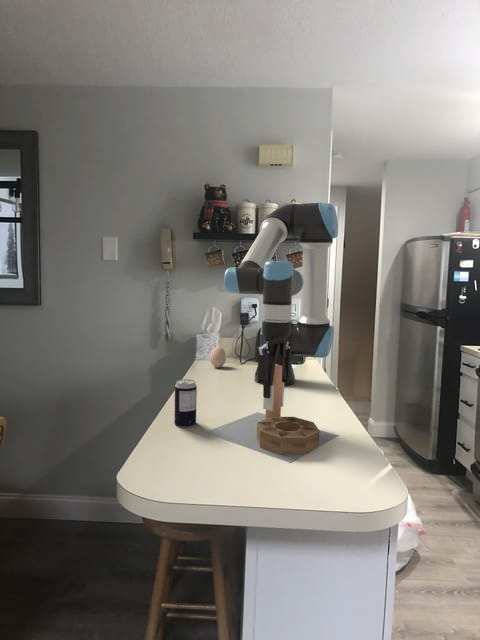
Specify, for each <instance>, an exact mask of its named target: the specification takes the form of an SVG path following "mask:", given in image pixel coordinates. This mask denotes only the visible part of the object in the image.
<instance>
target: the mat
mask: <svg viewBox="0 0 480 640" xmlns="http://www.w3.org/2000/svg"><path fill="white" fill-rule="evenodd" d="M265 418H266V413H261V412H258V411H257V412H254V413H252V414H249V415H246V416H243V417H241V418H238V419H235V420H232V421H231V422H228V423H225V424H222V425H220V426H217V427H215V428H211V429H208V430H206V431H204V433H205V434H208V435H211V436H213V437H216V438H218V439H221V440H224V441H228V442H229V443H233V444H236V445H238V446H241V447H244V448H247V449H250V450H252V451H256V452H258V453H260V454H263V455H266V456H270V457H272V458H274V459H278V460H280V461H284V462H286V463H288V464H292V463H294V462H295V461H297V460H299V459H300V458H302V457H305V456H306V455H308V454H310V453H311V452H309V453H307V454H302V455H280V454H277V453H274V452H271V451H268V450H265V449H262V448H260V447H259V444H258V441H257V422H259V421H262V420H264V419H265ZM319 430H320V433H319V447H318V448H320V447H322V446H324V445H325V444H327V443H329V442H331V441H333V440H334V439H336V438H337V437H340V434H335V433H331V432H328V431H325V430H321V429H319ZM318 448H316V449H314V450H313V451H315V450H317V449H318Z"/></svg>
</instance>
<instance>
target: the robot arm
mask: <svg viewBox="0 0 480 640" xmlns="http://www.w3.org/2000/svg"><path fill="white" fill-rule="evenodd" d="M335 207H336V206H334V205H333V204H332V203H329V202H305V203H288V204H284V205H282V206H280V207H277V208H276V209H275V210H273V211H272V212H271V213H269V214H268V215H266V217H265V218H264V219H263V221H262V223H261V224H260V226H259V233H258V235H257V236H256V238H255V240H254V242H253V243H252V244H251V246H250V248H249V250H248V251H247V252H246V254H245V256H244V258H243V259H242V261H241V263H240V264H239V265H238V267H236V266H232V267H228V268H226V270H225V272H224V277H223V285H224V288H225V290H226V292H228V293H230V294H238V295H260V296H261V295H262V319H263V320H262V322H261V327H260V334H259V336H260V338H259V339H260V340H259V341H260V342H259V343H260V345H259V346H257V347H256V353H257V366H256V370H255V373H254V381H255V382H256V383H258V384H259V385H262V386H263V389H262V391H263V392H262V393H263V394H262V396H263V397H262V398H263V402H262V403H263V406H262V407H263V409H264V410H266V409H267V410H270V411H273V404H274V386H272V382H273V375H274V369H275V364H279V365H282V391H281V408H282V407H284V398H285V386H290V385H293V384H295V383H296V382H295V381H296V380H295V379H296V376H295V375H296V374H295V371H294V368H293V364H292V356H298V357H306V358H307V357H308V358H314V359H317V358H318V359H321V358H323V359H324V358H327V357H328V356H329V354H330V353H331V349H332V346H333V341H334V335H335V326H332V325H331V321H330V318H328V317H327V315H326V314H327V310H326V309H327V287H328V286H327V285H328V259H329V258H328V257H329V247H331V246H332V245H333V241H334V240H333V239H337V238H338V235H339V225H338V224H339V223H338V222H339V221H338V215H337V211H336V208H335ZM289 238H291V239H292V238H294V239H298V244H299V246H301V247H302V272H299V271H298V270H297V269H294V263H292V261H288V260H272V258H273V256H274V254H275V253H276V250H277V249H278V247H279V245H280V244H281V243H283V242H284V241H285V240H286V239H289ZM300 292H301V315H300V316H299V318H297V320H296V323H294V321H293V319H292V309H293V308H292V303H293V302H292V299H293V296H296V295H297V294H299V293H300Z"/></svg>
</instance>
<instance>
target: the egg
mask: <svg viewBox="0 0 480 640" xmlns="http://www.w3.org/2000/svg"><path fill="white" fill-rule="evenodd" d="M209 360H210V364H211V365H212V366H213V367H214V368H216V369H219V368H221V367H223V366H224V365H225V363H226V360H227V354H226V352H225V350H224V348H222V346H220V345H217V346H215V347H214V348H213V349H211V352H210V356H209Z"/></svg>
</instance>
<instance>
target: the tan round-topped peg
mask: <svg viewBox="0 0 480 640" xmlns="http://www.w3.org/2000/svg"><path fill="white" fill-rule="evenodd" d="M272 386H274V404H273V411H270V410H267V409H265V414H266V418H265V419H267V418H269V417H282V416H281V414H282V413H281V411H282V407H281V391H282V365H279V364H275V369H274V375H273V382H272Z"/></svg>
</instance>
